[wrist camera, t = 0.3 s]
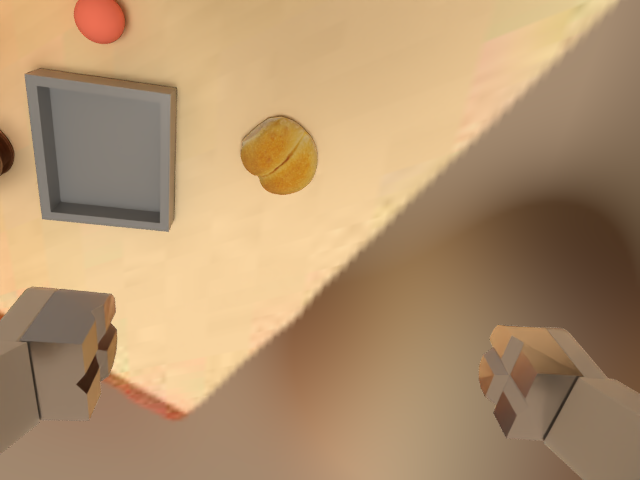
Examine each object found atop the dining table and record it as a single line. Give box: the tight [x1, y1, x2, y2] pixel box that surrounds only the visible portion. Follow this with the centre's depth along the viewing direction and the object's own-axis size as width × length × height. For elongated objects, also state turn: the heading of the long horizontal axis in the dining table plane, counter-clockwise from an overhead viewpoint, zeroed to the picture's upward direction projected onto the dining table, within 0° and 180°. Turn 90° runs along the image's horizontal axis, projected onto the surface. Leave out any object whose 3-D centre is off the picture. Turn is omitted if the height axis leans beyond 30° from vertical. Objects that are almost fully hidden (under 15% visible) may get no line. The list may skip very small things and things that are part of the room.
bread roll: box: [241, 117, 317, 195], centre depth 55 cm, size 8×9×4 cm
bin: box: [25, 68, 177, 232], centre depth 53 cm, size 16×14×4 cm
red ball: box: [74, 0, 125, 44], centre depth 46 cm, size 4×4×4 cm
